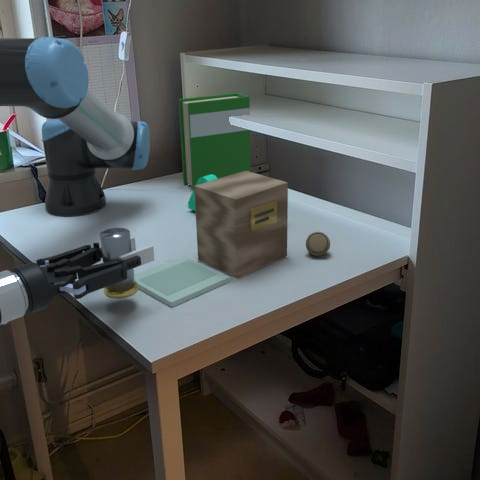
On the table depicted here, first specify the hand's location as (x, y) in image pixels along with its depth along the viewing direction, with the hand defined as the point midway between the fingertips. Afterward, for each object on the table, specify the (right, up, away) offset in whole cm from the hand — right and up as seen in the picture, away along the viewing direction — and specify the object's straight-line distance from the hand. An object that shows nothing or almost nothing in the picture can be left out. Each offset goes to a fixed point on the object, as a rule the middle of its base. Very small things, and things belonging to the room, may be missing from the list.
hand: (143, 248), depth 107 cm
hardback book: (+11, +18, +65) cm, 68 cm away
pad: (+5, -6, +8) cm, 12 cm away
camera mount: (+11, +8, +43) cm, 45 cm away
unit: (+18, -2, +18) cm, 25 cm away
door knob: (+33, -2, +19) cm, 38 cm away
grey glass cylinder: (-4, -7, -1) cm, 8 cm away
